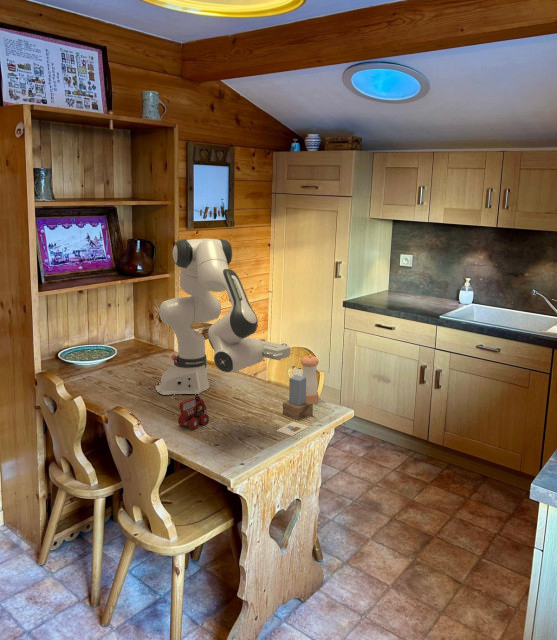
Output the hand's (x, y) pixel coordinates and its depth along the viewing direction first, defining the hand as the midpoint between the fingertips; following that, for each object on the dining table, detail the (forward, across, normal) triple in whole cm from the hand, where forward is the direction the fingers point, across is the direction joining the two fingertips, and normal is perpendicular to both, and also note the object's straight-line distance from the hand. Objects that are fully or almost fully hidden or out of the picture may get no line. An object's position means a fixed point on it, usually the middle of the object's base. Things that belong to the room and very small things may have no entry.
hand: (274, 343), depth 218 cm
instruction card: (-2, -10, +30) cm, 31 cm away
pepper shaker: (+25, -1, +29) cm, 38 cm away
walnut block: (+11, -5, +29) cm, 32 cm away
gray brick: (+10, -5, +24) cm, 27 cm away
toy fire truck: (-18, +22, +31) cm, 42 cm away
